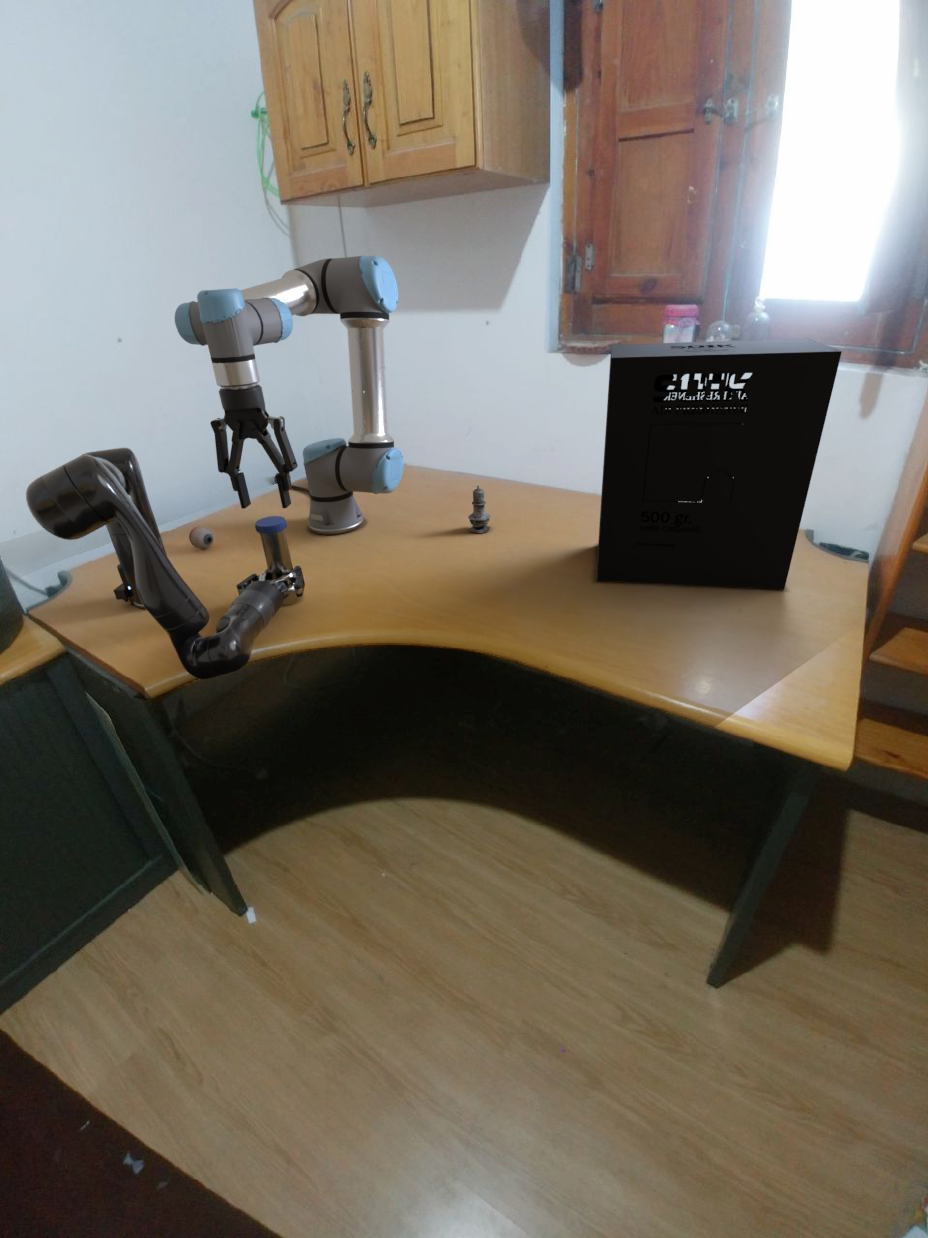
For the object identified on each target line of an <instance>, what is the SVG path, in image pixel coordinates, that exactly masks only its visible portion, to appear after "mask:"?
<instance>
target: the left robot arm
mask: <svg viewBox="0 0 928 1238" xmlns="http://www.w3.org/2000/svg"><path fill="white" fill-rule="evenodd" d="M25 498H26V499H25V501H26V505H27V507H28V511H29V512H30V513H31V515H32V517H33V519H34V520H35V521H36V523H37V524H38V525H39V526H40V527H42V528H43V529H44V530H45V531H46V532H48V533H50V534H51V535H52V536H54V537H56V538H59V539H63V540H68V541H73V540H75V541H76V540H78V539H81V538H84V537H86V536H88V535H90V534H91V533H94V532H96V531H97V530H99V529H101V528H103V527H105V528H106V530H107V532H108V535H109V538H110V541H111V543H112V546H113V548H114V551H115V554H116V556H117V560H118V562H119V564H117V565H116V569H117V571H118V574H119V577H120V580H121V584H119V585H118V586H117V587H115V588H114V589H113V593H114V595H115V599H116V600H122V601H124V602H125V603H127V602H129V603H130V606H135V607H136V608H139V609H142V610H143V609H145V610H146V611H147V613H148V614H149V615H150V616H151V617H152V618H153V619H154V620H155V621H156V623H157V624H158V625H159V626H160V628H162V630H163V631H164V632H166V634H167V635H168V637H169V641H170V642H171V644H172V646H173V648H174V651H175V652H176V655H177V658H178V659H179V662H180V664H181V665H182V668H183V669H184V670H185V671H186V672H187V673H188V675H191V676H192V677H194V678H196V679H199V680H209V679H213V678H217V677H221V676H224V675H227V674H231V673H235V672H237V671H239V670H241V669H242V668H243V667H245V666H246V665H247V663H248V662H249V660H250V658H251V655H252V651H253V647H254V643H255V640H256V639H257V637H258V636H259V634H260V633H261V632H262V631H263V630H264V629H265V628H266V627H267V626H268V625H269V624H270V622H271V621H272V619H274V617H275V616H276V614H277V613H278V612H279V610H280V609H281V607H282V606H283V605H282V602H283V599H285V598H287V597H288V596H289V594H296V595H297V597H299V598H301V597H303V596H304V591H305V588H306V583H305V578H304V574H303V571H302V567H301V566H300V565H295V566H294V567H293V570H292V571H291V573H290V574H289V575H287V576H285V575H283V576H281V577H280V578H278V579H276V580H271V579H270V575H269V570H268V568H267V569H265V571H264V572H260V573H259V575H258V574H257V573H252V574H250V575H249V576H248V577H245V578H244V579H242V580H241V581H240V582H239V583H237V584H236V585H235V586H236V590H237V593H238V596H237V597H236V598H235V599H234V600H233V602H232V603H231V605H230V607H229V608H228V609H227V610H226V611H225V612H224V613H223V614H222V616H221V617H220V618H219V620H218V621H217V623H216V626H215V633H213V634H210V635H207V636H202V635H201V633H200V632H201V631H202V630H204V629H205V628H206V626H207V625H208V624H209V621H210V612H209V611H208V609H207V608H206V606H205V605H204V604H203V602H201V600H200V598H199V597H198V596H197V595H196V594H195V593H194V591H193V590H192V589H191V587H190V586H189V585H188V584H187V582H186V581H185V580H184V579H183V578H182V576H181V575H180V573H179V572H178V571H177V569H176V568H175V566H174V565H173V564H172V561H171V560H170V559H169V557H168V554H167V551H166V548H165V545H164V542H163V539H162V536H161V533H160V530H159V527H158V524H157V520H156V518H155V515H154V511H153V508H152V505H151V503H150V499H149V496H148V493H147V489H146V486H145V481H144V478H143V474H142V469H141V466H140V463H139V461H138V458H137V456H136V454H135V453H134V451H133V450H132V449H131V448H129V447H115V448H108V449H102V450H101V449H100V450H95V451H88V452H85V453H82V454H81V455H79V456H77V457H75V458H73V459H71V460H69V461H67V462H66V463H64V464H62V465H60V466H58V467H57V468H55V469H53V470H50V471H49V472H47V473H44V474H43V475H40V476H39V477H36V478H35V479H34V480H33V481H32V482H30V483H29V484H28V486H27V488H26V492H25ZM290 579H291V581H292V582H291V583H290Z"/></svg>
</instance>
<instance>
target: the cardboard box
mask: <svg viewBox="0 0 928 1238" xmlns="http://www.w3.org/2000/svg"><path fill="white" fill-rule="evenodd" d="M841 356H842V350H840V349H838V348H834V347H833V346H829V345H827V344H823V343H821V342H819V341H816V340H813V339H811V338H808V337H807V338H806V337H805V338H780V339H779V338H777V339H776V338H775V339H774V338H773V339H749V340H748V339H746V340H745V339H744V340H718V341H688V342H687V341H685V342H683V341H682V342H681V341H680V342H652V343H624V344H623V343H621V344H611V345H610V358H609V372H608V373H609V374H608V386H607V388H608V392H607V405H606V419H605V420H606V422H605V434H604V451H603V452H604V453H603V466H602V481H601V496H600V512H599V513H600V514H599V528H598V541H597V542H598V543H597V566H596V567H597V568H596V582H609V583H630V584H648V585H649V584H653V585H672V586H673V585H674V586H675V585H676V586H693V587H695V586H697V587H699V586H700V587H716V588H717V587H718V588H719V587H720V588H739V589H740V588H742V589H762V590H764V589H765V590H781V591H782V590H785V588H786V584H787V580H788V576H789V572H790V567H791V563H792V559H793V555H794V551H795V546H796V542H797V538H798V535H799V531H800V528H801V527H800V526H801V522H802V518H803V514H804V509H805V506H806V501H807V497H808V493H809V489H810V485H811V480H812V476H813V472H814V468H815V465H816V460H817V456H818V451H819V447H820V443H821V440H822V435H823V432H824V427H825V423H826V419H827V415H828V410H829V405H830V403H831V398H832V394H833V390H834V386H835V381H836V378H837V374H838V369H839V365H840V360H841ZM745 374H751V375H750V376H749V377H748V378H743V377H744V376H745ZM675 375H676V378H675ZM685 375H688V380H687V386H686V388H682V385H683V377H684V376H685ZM696 375H700V380H699V379H695V377H696ZM710 375H712V377H711V379H710ZM723 375H724V376H723ZM733 376H734V378H733V385H738V384H743V386H742V387H741V388H739V387H738V388H733V387H731V385H730V383H731V379H732V377H733ZM699 385H702V388H699ZM713 385H718V388H712V387H713ZM670 386H671V387H673V388H671V389H668V388H669V387H670Z"/></svg>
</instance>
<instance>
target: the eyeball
mask: <svg viewBox="0 0 928 1238" xmlns="http://www.w3.org/2000/svg"><path fill="white" fill-rule="evenodd" d="M188 539H189V542H190V544H191V545H192V546H193V547H194V548H196V549H198V550H206V549H208V548H210V547H212V545H213V544H214V541H215V535H214V533H213V531H212V529H210V528H209V527H207V526H205V525H198V526H195V527H194V528H192V529H191V530H190V532H189V535H188Z"/></svg>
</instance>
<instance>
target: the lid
mask: <svg viewBox="0 0 928 1238" xmlns="http://www.w3.org/2000/svg"><path fill="white" fill-rule="evenodd" d="M287 527H288V524H287V520H286V518H285V517H284V516H281V515H272V516H271V515H270V516H265V517H262V518H260V519H258V520H256V521H255V522H254V528H255V531H256V532H257V533H258V534H260V533H261V534H272V533H277V532H280V531H282V530H284V529H285V530H286V529H287Z"/></svg>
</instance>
